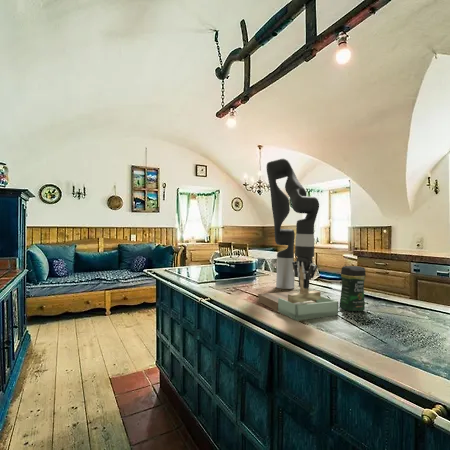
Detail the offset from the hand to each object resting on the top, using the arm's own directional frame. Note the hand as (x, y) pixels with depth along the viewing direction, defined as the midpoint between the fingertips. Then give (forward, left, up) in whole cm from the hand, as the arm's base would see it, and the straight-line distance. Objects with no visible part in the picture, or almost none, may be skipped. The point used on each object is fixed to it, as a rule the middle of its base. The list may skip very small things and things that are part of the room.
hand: (303, 287), depth 120 cm
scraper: (-1, 0, -5) cm, 5 cm away
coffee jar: (-22, +4, -10) cm, 25 cm away
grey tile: (+3, -1, -8) cm, 9 cm away
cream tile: (-4, -1, -8) cm, 9 cm away
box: (0, +3, -10) cm, 10 cm away
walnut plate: (0, -12, -10) cm, 15 cm away
